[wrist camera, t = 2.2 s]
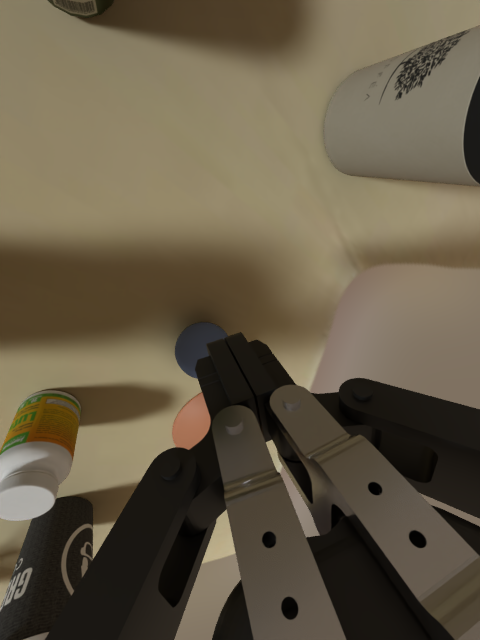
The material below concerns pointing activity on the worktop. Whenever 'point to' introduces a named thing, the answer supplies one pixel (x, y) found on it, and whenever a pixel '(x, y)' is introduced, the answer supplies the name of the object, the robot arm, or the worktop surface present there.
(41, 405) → the supplement bottle
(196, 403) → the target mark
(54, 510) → the coffee cup
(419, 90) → the travel mug
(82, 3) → the beer can
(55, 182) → the worktop surface
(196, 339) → the ball
